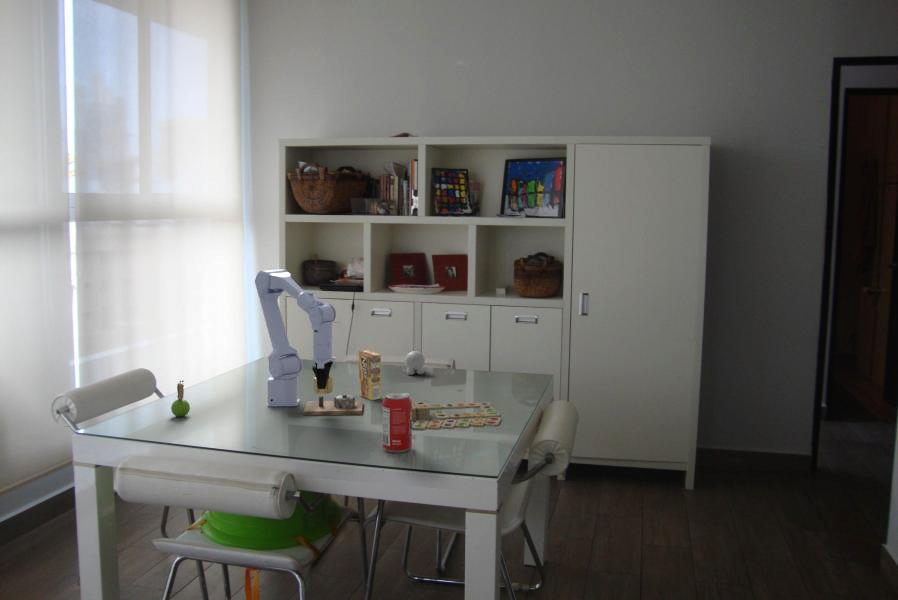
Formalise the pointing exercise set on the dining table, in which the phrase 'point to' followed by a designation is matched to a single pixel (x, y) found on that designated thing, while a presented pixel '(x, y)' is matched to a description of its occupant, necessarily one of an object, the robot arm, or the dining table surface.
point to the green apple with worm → (180, 403)
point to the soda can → (397, 422)
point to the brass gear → (328, 386)
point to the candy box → (370, 374)
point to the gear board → (334, 406)
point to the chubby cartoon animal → (414, 363)
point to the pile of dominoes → (453, 416)
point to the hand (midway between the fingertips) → (322, 386)
